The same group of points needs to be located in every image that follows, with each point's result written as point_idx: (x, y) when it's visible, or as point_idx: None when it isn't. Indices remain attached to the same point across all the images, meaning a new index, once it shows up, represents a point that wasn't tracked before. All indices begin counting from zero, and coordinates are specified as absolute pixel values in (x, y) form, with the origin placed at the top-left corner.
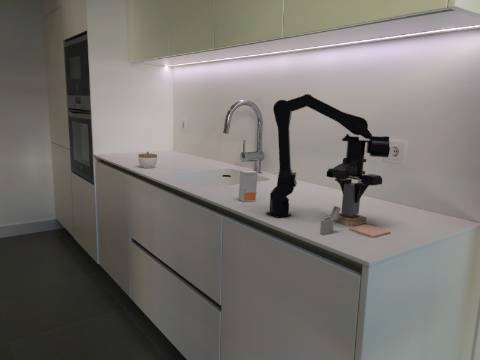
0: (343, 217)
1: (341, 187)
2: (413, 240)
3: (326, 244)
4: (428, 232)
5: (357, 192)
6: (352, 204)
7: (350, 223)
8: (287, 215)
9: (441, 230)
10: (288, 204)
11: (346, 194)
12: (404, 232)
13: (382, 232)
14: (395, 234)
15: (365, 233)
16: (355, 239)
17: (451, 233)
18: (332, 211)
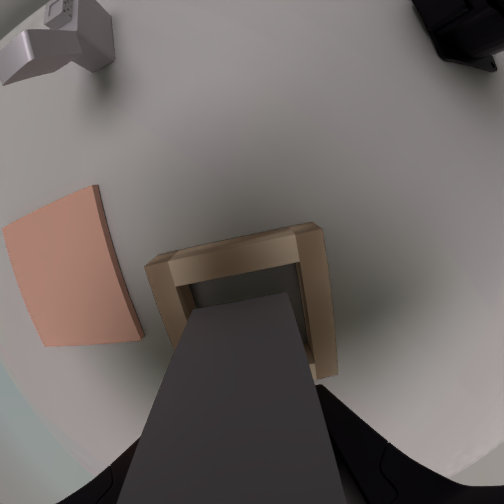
0: (221, 256)
1: (411, 470)
2: (4, 343)
3: (30, 18)
4: (79, 440)
5: (104, 479)
6: (172, 365)
7: (159, 257)
8: (431, 32)
9: (102, 470)
10: (458, 1)
11: (253, 424)
12: (67, 394)
13: (32, 306)
14: (42, 349)
15: (23, 218)
16: (10, 139)
17: (80, 463)
18: (49, 31)
